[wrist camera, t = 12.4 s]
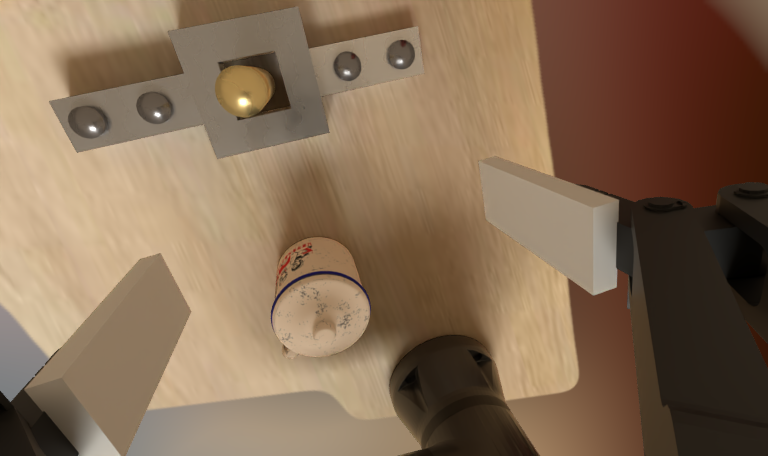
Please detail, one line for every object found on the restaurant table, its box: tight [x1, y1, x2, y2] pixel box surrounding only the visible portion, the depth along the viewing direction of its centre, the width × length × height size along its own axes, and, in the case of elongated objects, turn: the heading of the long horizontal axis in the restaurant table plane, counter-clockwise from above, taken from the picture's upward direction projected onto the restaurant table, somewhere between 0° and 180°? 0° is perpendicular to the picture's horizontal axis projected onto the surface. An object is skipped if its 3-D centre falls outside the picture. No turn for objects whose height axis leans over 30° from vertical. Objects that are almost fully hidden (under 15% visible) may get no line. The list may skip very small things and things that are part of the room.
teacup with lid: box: [271, 237, 371, 359], centre depth 37 cm, size 12×9×12 cm
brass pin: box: [215, 65, 275, 117], centre depth 28 cm, size 3×3×12 cm
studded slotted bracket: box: [49, 7, 424, 159], centre depth 32 cm, size 10×30×4 cm, turn 101°
